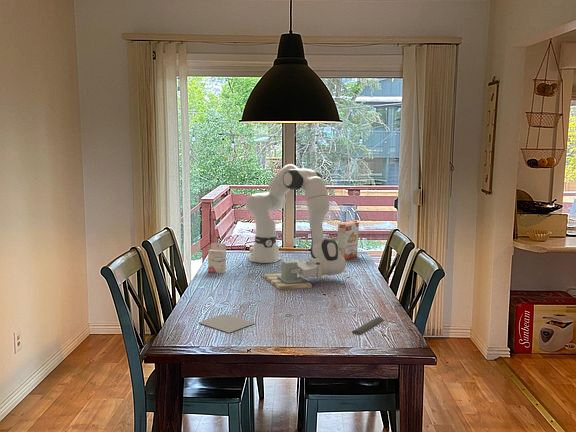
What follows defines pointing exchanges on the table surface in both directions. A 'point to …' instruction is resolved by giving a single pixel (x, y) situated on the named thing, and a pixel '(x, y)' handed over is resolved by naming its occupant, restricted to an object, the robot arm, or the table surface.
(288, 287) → the birch board
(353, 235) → the cracker box
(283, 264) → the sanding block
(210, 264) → the ink cartridge box
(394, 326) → the table surface
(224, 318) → the paper stack
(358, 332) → the half round rod
